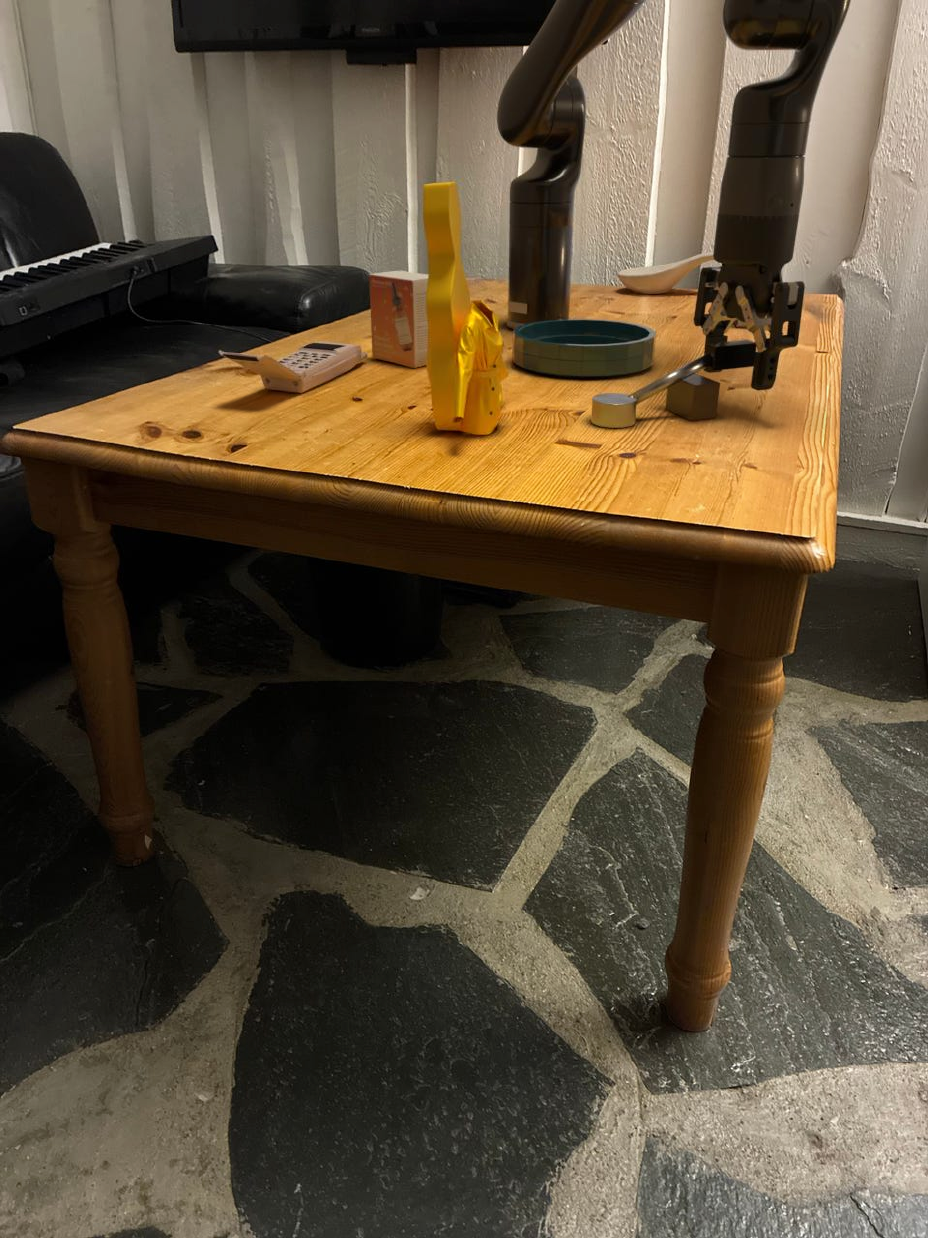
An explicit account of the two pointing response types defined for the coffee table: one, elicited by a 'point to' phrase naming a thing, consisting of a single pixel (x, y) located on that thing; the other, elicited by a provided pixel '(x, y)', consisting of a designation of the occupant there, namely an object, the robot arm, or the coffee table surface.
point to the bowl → (583, 347)
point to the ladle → (670, 382)
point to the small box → (399, 317)
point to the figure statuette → (458, 326)
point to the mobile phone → (302, 365)
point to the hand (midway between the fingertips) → (736, 379)
